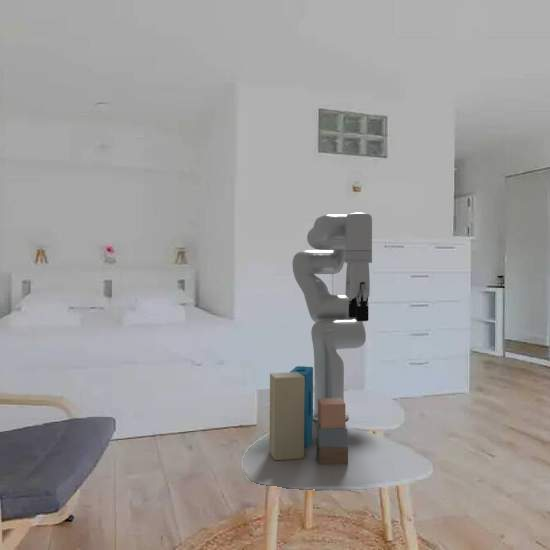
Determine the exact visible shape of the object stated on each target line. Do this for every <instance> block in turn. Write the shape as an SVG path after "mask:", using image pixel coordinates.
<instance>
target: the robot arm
mask: <svg viewBox="0 0 550 550" xmlns="http://www.w3.org/2000/svg"><path fill="white" fill-rule="evenodd" d="M306 240H307V243H308V245H309V246H310V247H311V248H312V249H308V250H301V251H299V252H297V253H296V254H295V255H294V256H293V259H292V264H291V265H292V273H293V276H294V279H295V281H296V283H297V285H298V287H299V288H300V290H301V292H302V293H303V297H304V300H305V303H306V307H307V310H308V314H309V315H310V319H311V320H312V321H313V322H314V324H313V325H312V327H311V329H310V331H311V333H310V334H311V340H312V347H313V348H312V349H313V361H314V363H313V364H314V366H313V421H316V422H318V398H341V399H342V400H343V402H344V403H345V396H344V395H345V365H344V361H343V358H342V357H341V355H339V353H338V352H337V350H347V349H349V350H350V349H358V348H361V347H363V346H364V344H365V342H366V339H367V333H366V329H365V325H364V322H368V321H369V297H370V291H371V290H370V289H371V288H370V287H371V286H370V285H371V284H370V279H371V278H370V264H372V263H373V217H372V215H371V214H369V213H366V212H351V213H348V214H324V215H321V216H319V217H316V219H315V221H314V224H313V227H311V229H309V230H308V232H307V237H306ZM344 264H346V271H345V272H346V274H345V295H344V294H330V291H329V289H328V286H327V284H326V283H325V282H324V281H323V280H322V279H321V278H320V277H318V276H317V275H335V274H338V273H340V272H341V271H342V269H343V267H344ZM348 419H349V413H348V412H347V411H345V421H347V420H348Z"/></svg>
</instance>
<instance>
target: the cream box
mask: <svg viewBox="0 0 550 550" xmlns="http://www.w3.org/2000/svg"><path fill="white" fill-rule="evenodd" d="M304 405H305V377H304V376H303V375H301V374H300V373H298V372H291V373H289V372H270V373H269V444H268V445H269V447H268V448H269V454H270V455H271V457H272V458H273V460H274V461H286V460H300V459H304V458H305V447H304Z"/></svg>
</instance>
